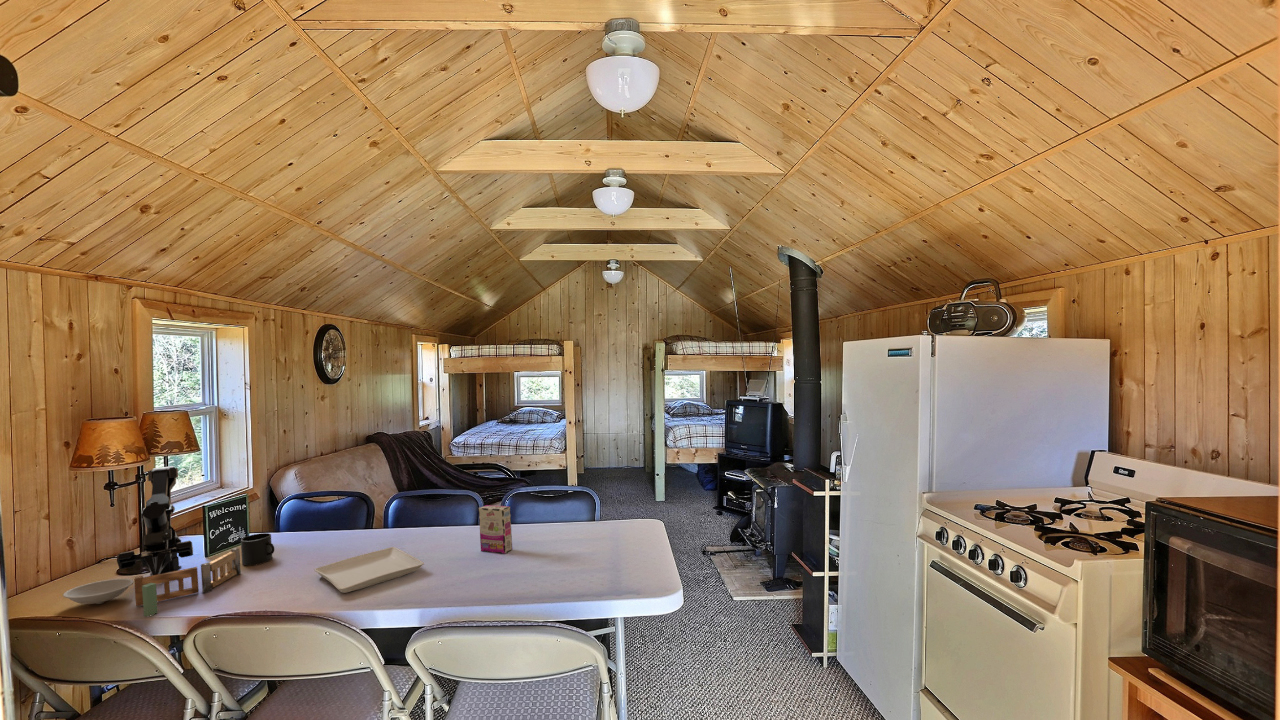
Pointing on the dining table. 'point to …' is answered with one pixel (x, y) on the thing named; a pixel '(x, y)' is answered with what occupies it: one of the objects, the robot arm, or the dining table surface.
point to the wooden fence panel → (232, 569)
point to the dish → (98, 591)
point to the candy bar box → (495, 529)
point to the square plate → (369, 569)
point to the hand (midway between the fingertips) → (155, 578)
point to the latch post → (149, 599)
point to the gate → (166, 579)
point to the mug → (256, 549)
